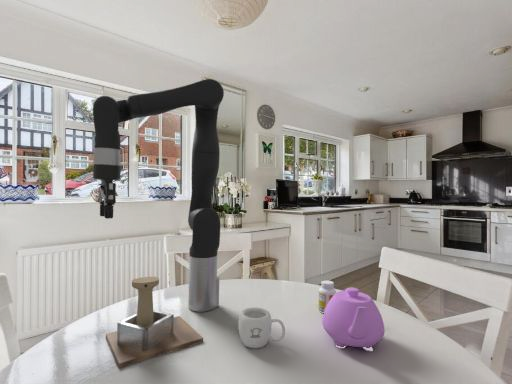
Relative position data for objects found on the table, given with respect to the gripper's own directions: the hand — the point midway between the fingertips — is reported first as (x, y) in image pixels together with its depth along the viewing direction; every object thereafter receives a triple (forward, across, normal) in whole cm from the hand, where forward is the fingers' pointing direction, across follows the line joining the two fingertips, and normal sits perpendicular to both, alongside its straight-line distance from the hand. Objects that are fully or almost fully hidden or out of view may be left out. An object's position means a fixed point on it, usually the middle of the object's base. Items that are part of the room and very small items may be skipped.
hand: (106, 217), depth 90 cm
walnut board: (+30, -23, -8) cm, 39 cm away
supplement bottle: (+30, -36, -60) cm, 76 cm away
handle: (+29, -23, -6) cm, 38 cm away
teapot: (+30, -53, -50) cm, 79 cm away
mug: (+30, -40, -30) cm, 59 cm away
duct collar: (+30, -23, -6) cm, 38 cm away
